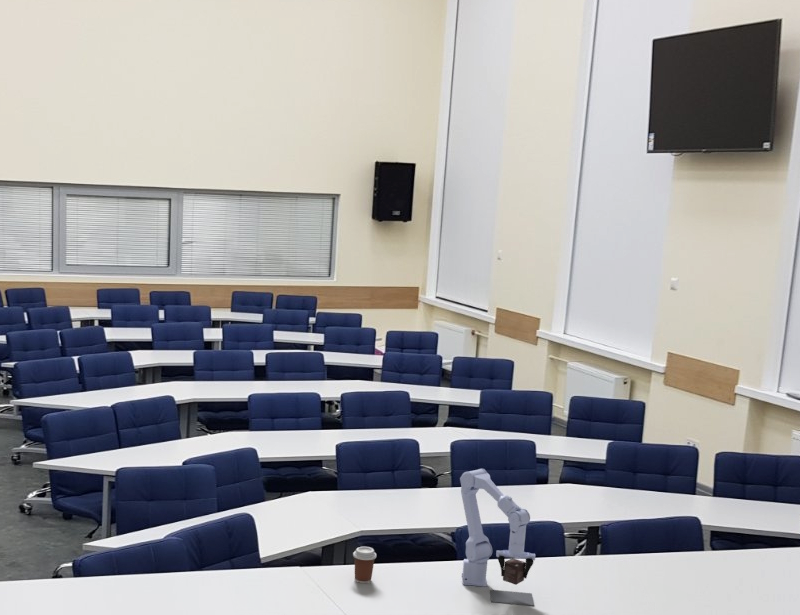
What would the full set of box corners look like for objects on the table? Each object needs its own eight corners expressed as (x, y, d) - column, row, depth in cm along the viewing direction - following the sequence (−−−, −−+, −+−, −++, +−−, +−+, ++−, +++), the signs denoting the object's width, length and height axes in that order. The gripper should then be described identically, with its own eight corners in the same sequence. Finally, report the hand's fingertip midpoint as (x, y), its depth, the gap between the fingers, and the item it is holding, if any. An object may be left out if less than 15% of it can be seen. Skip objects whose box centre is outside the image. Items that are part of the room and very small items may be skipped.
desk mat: (491, 602, 359) (491, 601, 359) (489, 590, 370) (489, 589, 370) (534, 606, 359) (534, 605, 359) (531, 594, 370) (531, 593, 370)
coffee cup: (353, 584, 365) (356, 554, 364) (348, 575, 374) (351, 545, 373) (377, 584, 368) (379, 553, 367) (371, 574, 377) (373, 545, 375)
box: (510, 576, 368) (512, 557, 367) (524, 581, 364) (526, 562, 364) (502, 580, 363) (504, 561, 362) (516, 585, 360) (518, 566, 359)
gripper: (498, 543, 358) (495, 578, 360) (537, 547, 358) (533, 582, 359) (497, 537, 365) (494, 571, 367) (535, 540, 365) (532, 575, 366)
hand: (513, 576), depth 364 cm, fingers closed on box, 7 cm apart
